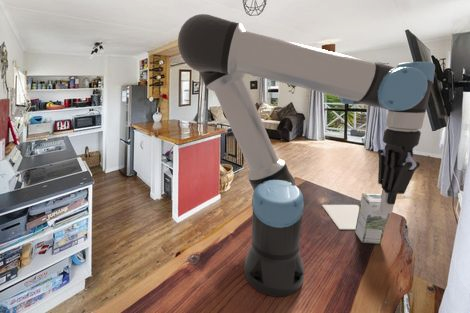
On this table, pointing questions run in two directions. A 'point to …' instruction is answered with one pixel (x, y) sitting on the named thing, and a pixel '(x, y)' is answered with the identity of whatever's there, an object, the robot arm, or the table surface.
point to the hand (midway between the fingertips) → (385, 212)
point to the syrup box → (370, 219)
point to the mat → (343, 215)
